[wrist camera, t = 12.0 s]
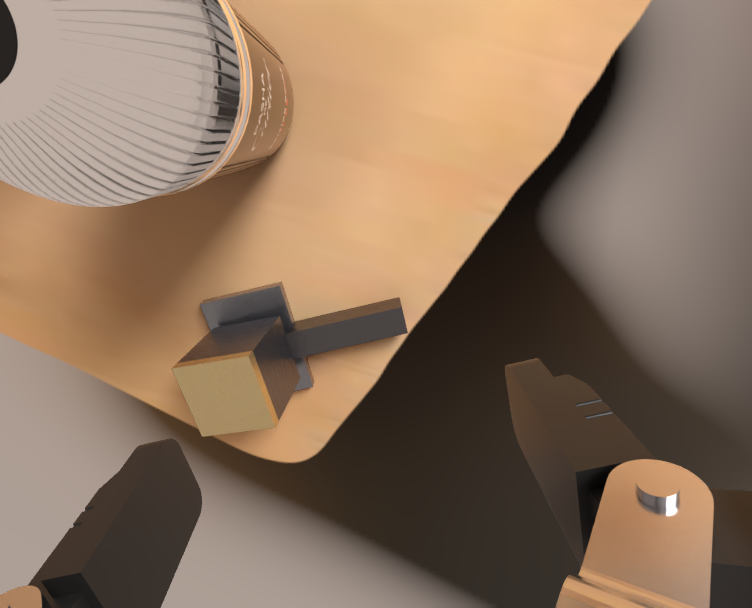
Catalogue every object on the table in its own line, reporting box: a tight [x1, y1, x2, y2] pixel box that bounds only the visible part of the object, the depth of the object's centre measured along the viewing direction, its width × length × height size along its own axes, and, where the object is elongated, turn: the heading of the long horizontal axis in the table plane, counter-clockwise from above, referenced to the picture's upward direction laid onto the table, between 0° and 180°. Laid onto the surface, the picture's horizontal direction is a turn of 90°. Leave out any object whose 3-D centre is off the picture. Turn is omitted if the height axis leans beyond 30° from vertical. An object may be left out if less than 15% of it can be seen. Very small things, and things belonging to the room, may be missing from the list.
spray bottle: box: [0, 0, 294, 207], centre depth 22 cm, size 10×10×25 cm
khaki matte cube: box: [172, 316, 300, 437], centre depth 36 cm, size 6×6×7 cm
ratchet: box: [200, 282, 408, 391], centre depth 38 cm, size 10×16×6 cm, turn 103°
